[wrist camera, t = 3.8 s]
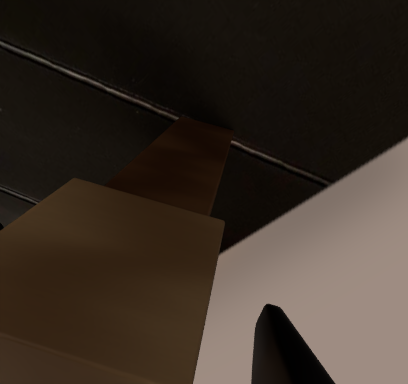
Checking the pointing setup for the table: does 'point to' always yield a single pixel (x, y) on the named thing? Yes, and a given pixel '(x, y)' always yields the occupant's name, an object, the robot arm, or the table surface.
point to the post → (179, 166)
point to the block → (104, 289)
